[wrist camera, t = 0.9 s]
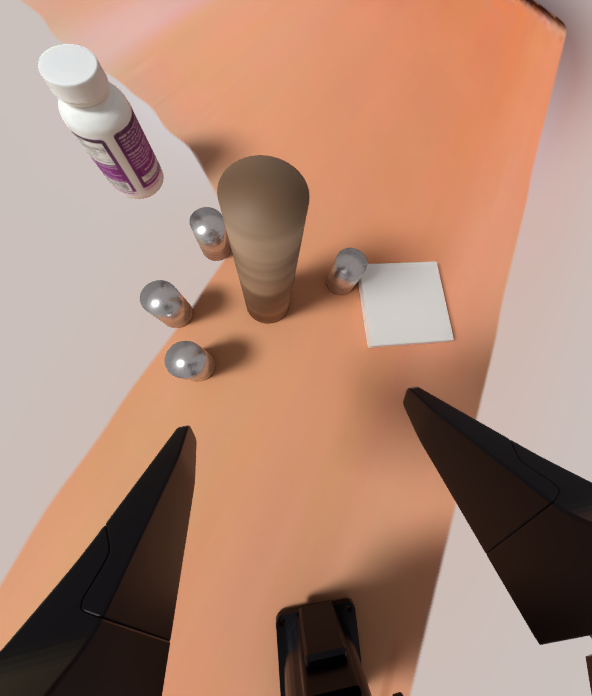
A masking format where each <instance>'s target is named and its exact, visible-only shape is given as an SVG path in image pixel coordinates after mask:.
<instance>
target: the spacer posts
mask: <svg viewBox="0 0 592 696" xmlns="http://www.w3.org/2000/svg"><path fill="white" fill-rule="evenodd" d="M190 226H191V228H192V231H193V232H194V235H195V237H196V239H197V241H198V243H199V246H200V248H201V250H202V252H203V254H204V255H205V256H206V257H207V258H208V259H210V260H213V261H219V260H223V259H225V258H226V257H227V256H228V255H229V253H230V251H231V246H230V242H229V238H228V234H227V231H226V227H225V223H224V219H223V216H222V215H221V213H219V211H217V210H216V209H214V208H210V207H204V208H200V209H198V210H196V211H195V212H193V214H192V215H191V217H190ZM366 269H367V259H366V257H365V255H364V254H363V253H362V252H361V251H359V250H357V249H355V248H346V249H343V250H342V251H340V252H339V254H338V255H337V257H336V260H335V262H334V264H333V266H332V268H331V270H330V272H329V275H328V277H327V286H328V288H329V289H330V290H331V291H332V292H333V293H335V294H337V295H345V294H347V293H349V292H350V291H351V290H352V289H353V287H354V286H355V285H356V283H357V282H358V280H359V279H360V278H361V276H362V275H363V274H364V272H365V271H366ZM140 302H141V305H142V307H143V308H144V309H145V310H146V311H148V312H149V313H151V314H152V315H153V316H155V317H156V318H158V319H159V320H160V321H162V322H163V323H165V324H166V325H167V326H169V327H172V328H180V327H183V326H185V325H186V324H188V323H189V322H190V320H191V318H192V315H193V310H192V307H191V305H190V304H189V303H188V302H187V301H186V299H185V298H184V297H183V296H182V295H181V294H180V292H179V291H178V290H177V289H176V288H175V287H174V286H173V285H172V284H171V283H169V282H167V281H163V280H158V281H153V282H151V283H149V284H147V285H146V286H145V287H144V288H143V290H142V292H141V294H140ZM165 366H166V368H167V370H168V371H169V372H170V373H171V374H172V375H173V376H175V377H179V378H183V379H187V380H192V381H203V380H206V379H207V378H209V377H210V376H211V375H212V373H213V371H214V369H215V361H214V359H213V357H212V356H211V355H210V354H209V353H208V352H207V351H205V350H204V349H203V348H201V347H200V346H198V345H197V344H196V343H194V342H191V341H181V342H178V343H176V344H174V345H173V346H171V347H170V348H169V350H168V351H167V353H166V356H165Z"/></svg>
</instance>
